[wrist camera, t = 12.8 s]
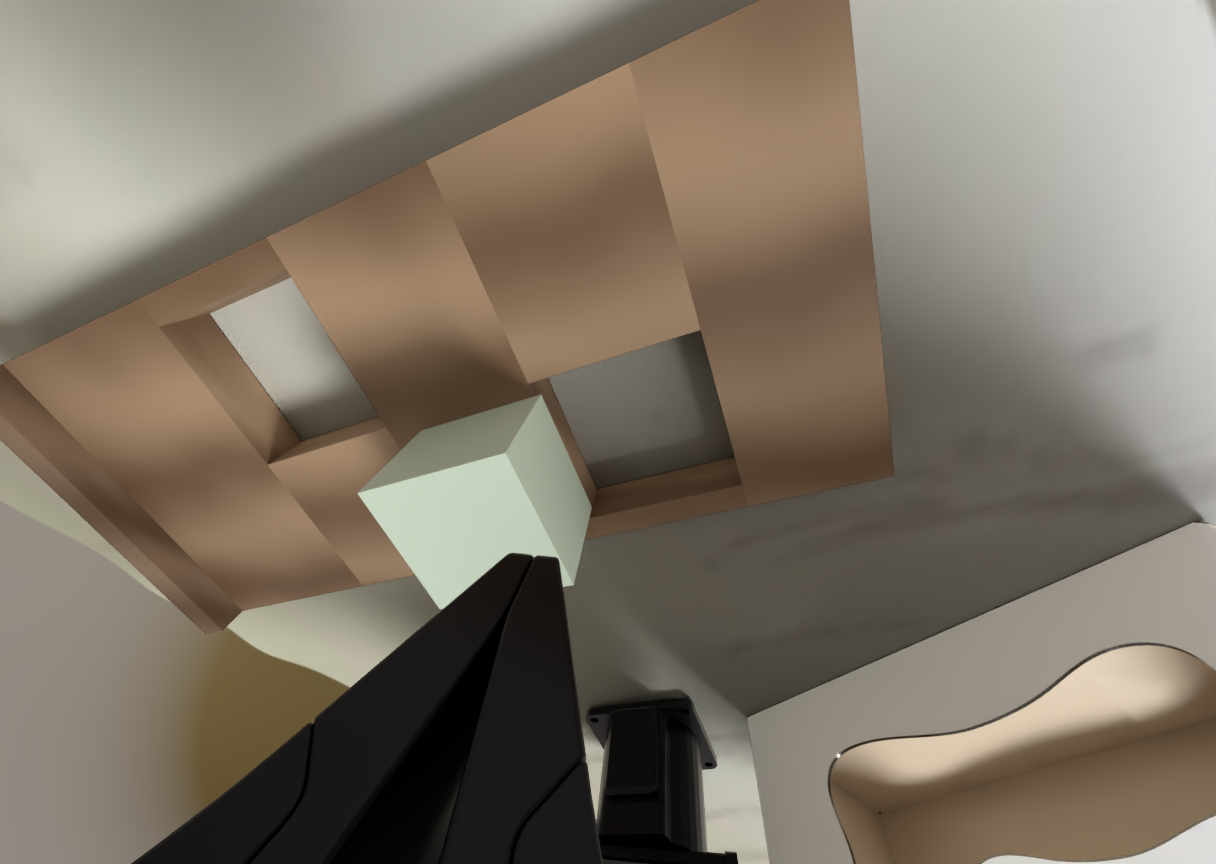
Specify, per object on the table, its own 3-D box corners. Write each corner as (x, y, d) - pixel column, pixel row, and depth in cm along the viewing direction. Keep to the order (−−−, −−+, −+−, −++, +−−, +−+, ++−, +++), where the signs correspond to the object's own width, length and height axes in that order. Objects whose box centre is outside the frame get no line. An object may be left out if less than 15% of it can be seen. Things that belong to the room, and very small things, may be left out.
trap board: (871, 447, 17) (911, 496, 15) (256, 585, 25) (205, 633, 23) (817, -7, 12) (867, -70, 9) (45, 356, 20) (-59, 384, 17)
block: (591, 507, 18) (573, 584, 14) (481, 531, 19) (439, 609, 15) (541, 394, 16) (505, 452, 12) (421, 430, 17) (357, 493, 13)
